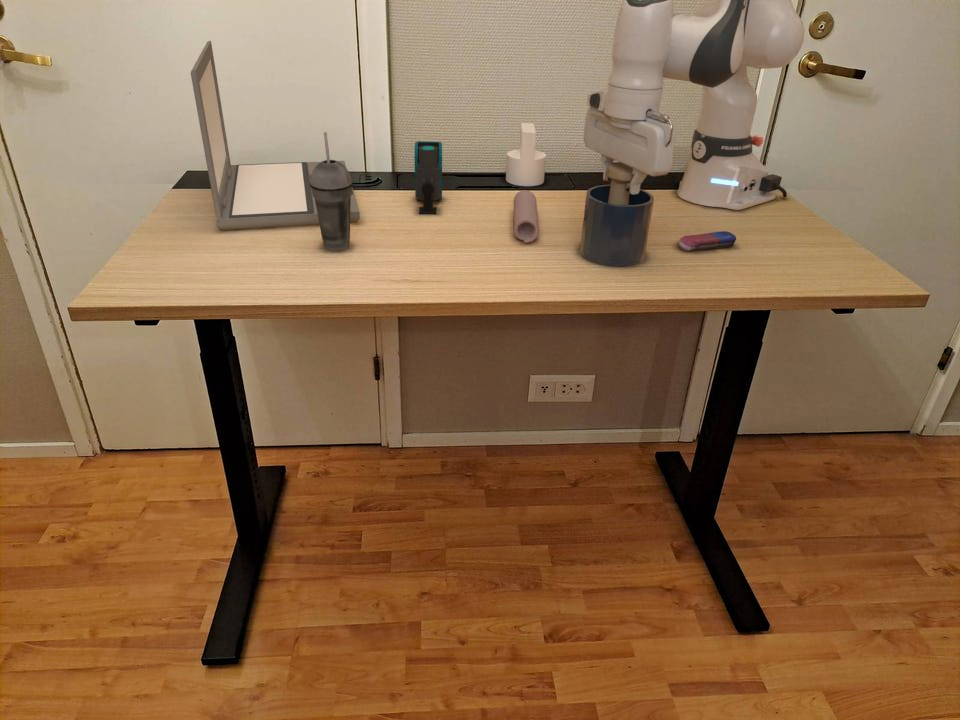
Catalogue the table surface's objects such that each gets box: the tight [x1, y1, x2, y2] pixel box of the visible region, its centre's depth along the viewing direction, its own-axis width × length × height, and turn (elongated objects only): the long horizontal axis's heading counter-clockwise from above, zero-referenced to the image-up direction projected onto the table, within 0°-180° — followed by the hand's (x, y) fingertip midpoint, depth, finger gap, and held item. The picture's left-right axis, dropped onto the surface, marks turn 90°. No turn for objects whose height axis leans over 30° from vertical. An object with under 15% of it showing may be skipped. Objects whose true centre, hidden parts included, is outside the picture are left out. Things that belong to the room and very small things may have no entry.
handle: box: [607, 161, 634, 205], centre depth 122 cm, size 5×6×15 cm
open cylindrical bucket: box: [579, 184, 655, 268], centre depth 124 cm, size 12×12×11 cm
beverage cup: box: [310, 131, 354, 253], centre depth 120 cm, size 7×7×20 cm
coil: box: [513, 189, 540, 244], centre depth 136 cm, size 5×5×18 cm
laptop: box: [190, 40, 361, 231], centre depth 139 cm, size 35×26×28 cm
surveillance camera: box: [413, 140, 443, 215], centre depth 142 cm, size 6×12×10 cm
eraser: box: [678, 230, 737, 252], centre depth 131 cm, size 11×4×2 cm, turn 107°
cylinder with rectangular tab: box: [505, 122, 547, 187], centre depth 160 cm, size 9×9×12 cm
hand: (620, 187), depth 120 cm, fingers closed on handle, 5 cm apart
